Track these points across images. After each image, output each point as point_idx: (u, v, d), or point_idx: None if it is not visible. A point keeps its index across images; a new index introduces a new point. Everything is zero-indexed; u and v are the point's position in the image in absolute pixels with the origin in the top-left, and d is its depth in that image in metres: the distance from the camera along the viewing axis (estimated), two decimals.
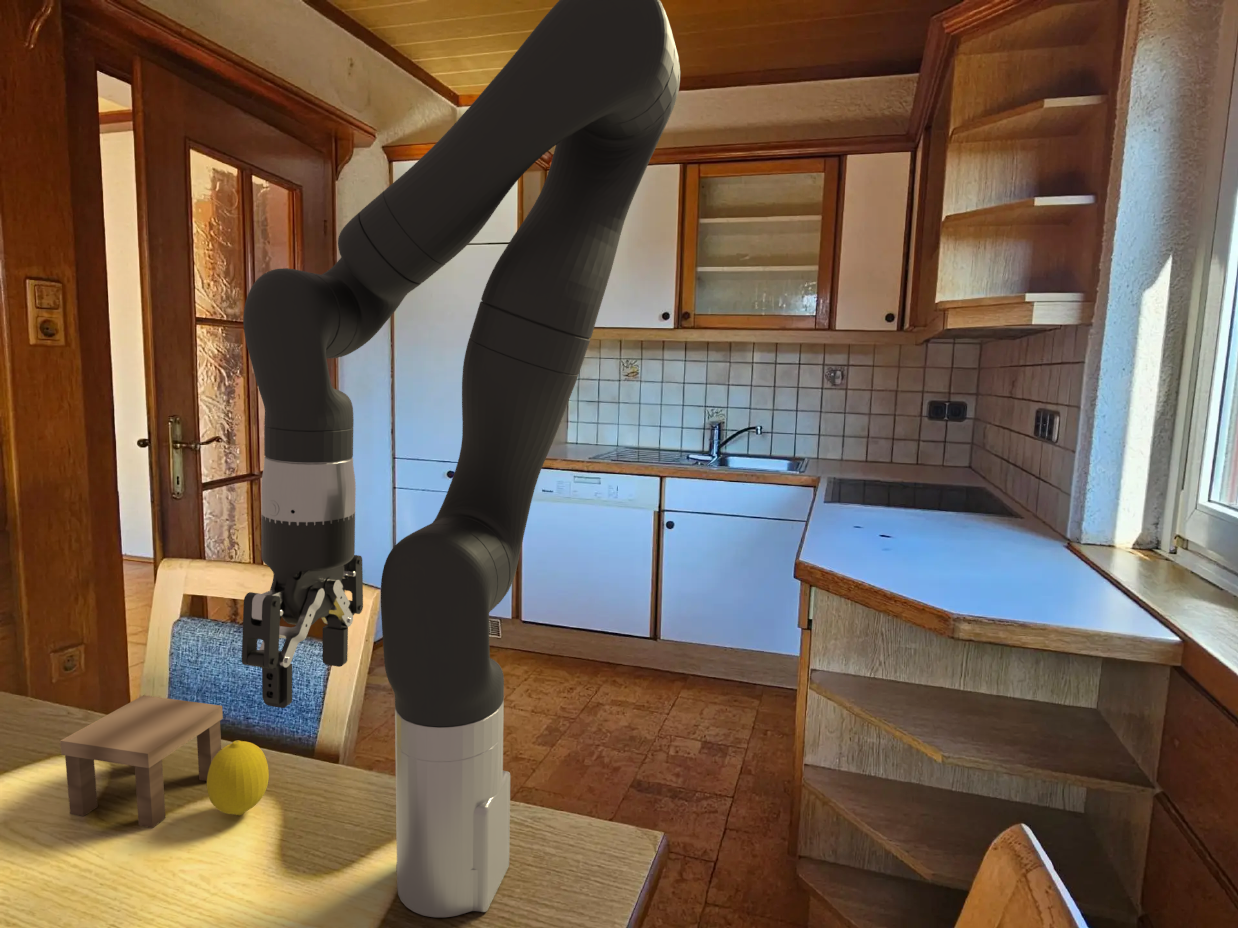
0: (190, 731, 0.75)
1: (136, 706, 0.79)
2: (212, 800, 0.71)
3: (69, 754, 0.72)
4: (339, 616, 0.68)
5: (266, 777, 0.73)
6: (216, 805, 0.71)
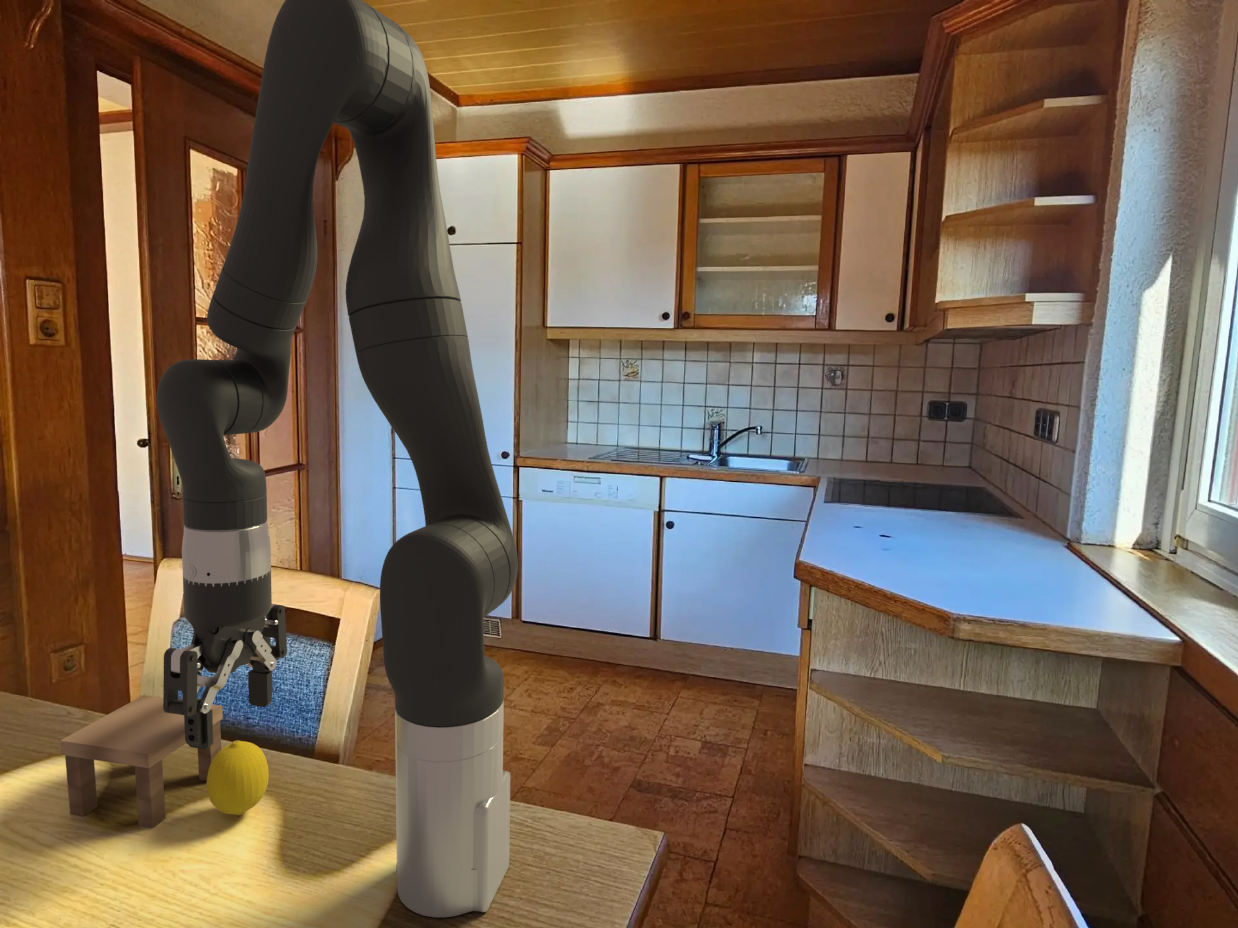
0: None
1: (136, 706, 0.79)
2: (212, 800, 0.71)
3: (69, 754, 0.72)
4: (262, 662, 0.75)
5: (266, 777, 0.73)
6: (216, 805, 0.71)
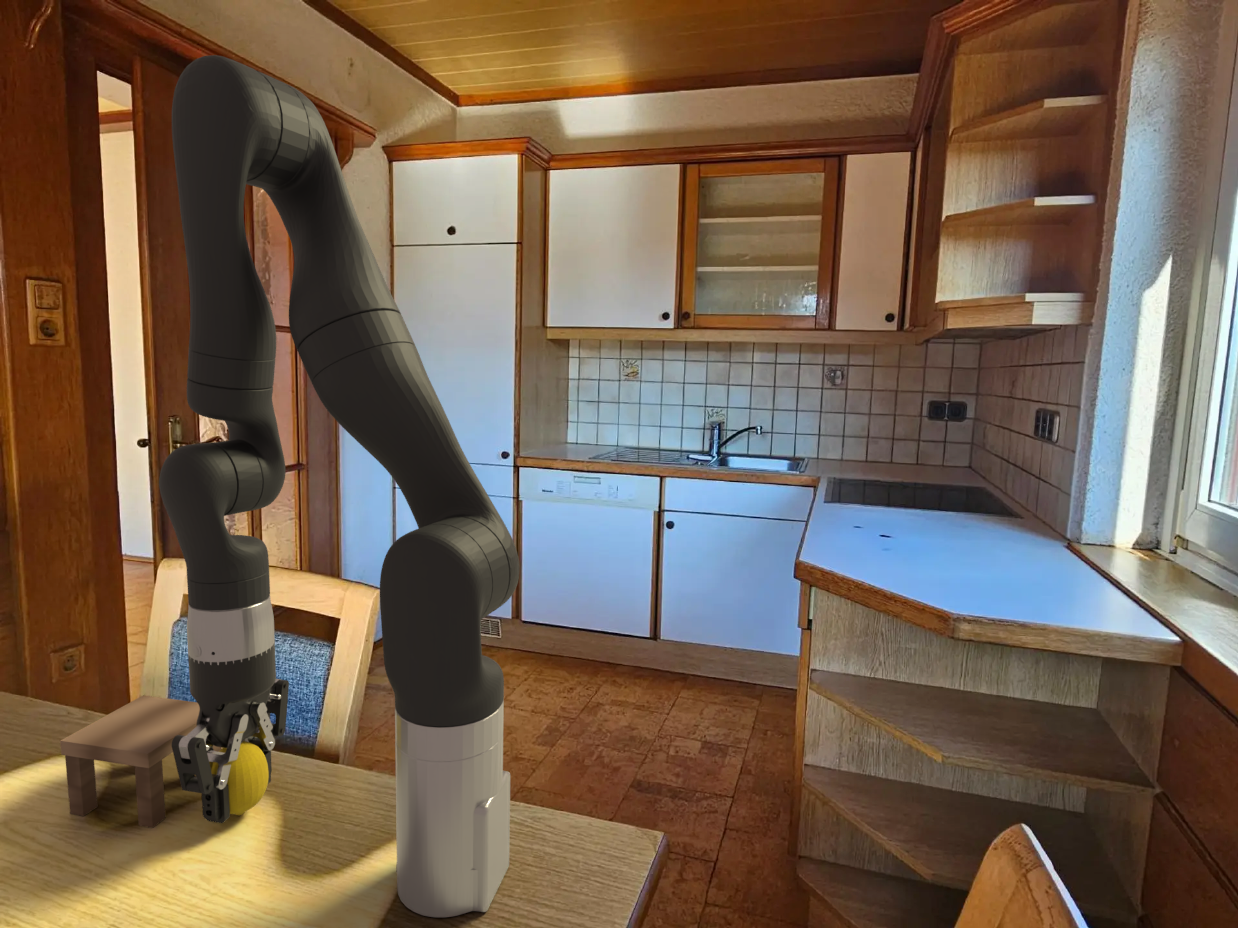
0: (190, 731, 0.75)
1: (136, 706, 0.79)
2: None
3: (69, 754, 0.72)
4: (261, 739, 0.75)
5: (266, 777, 0.73)
6: None
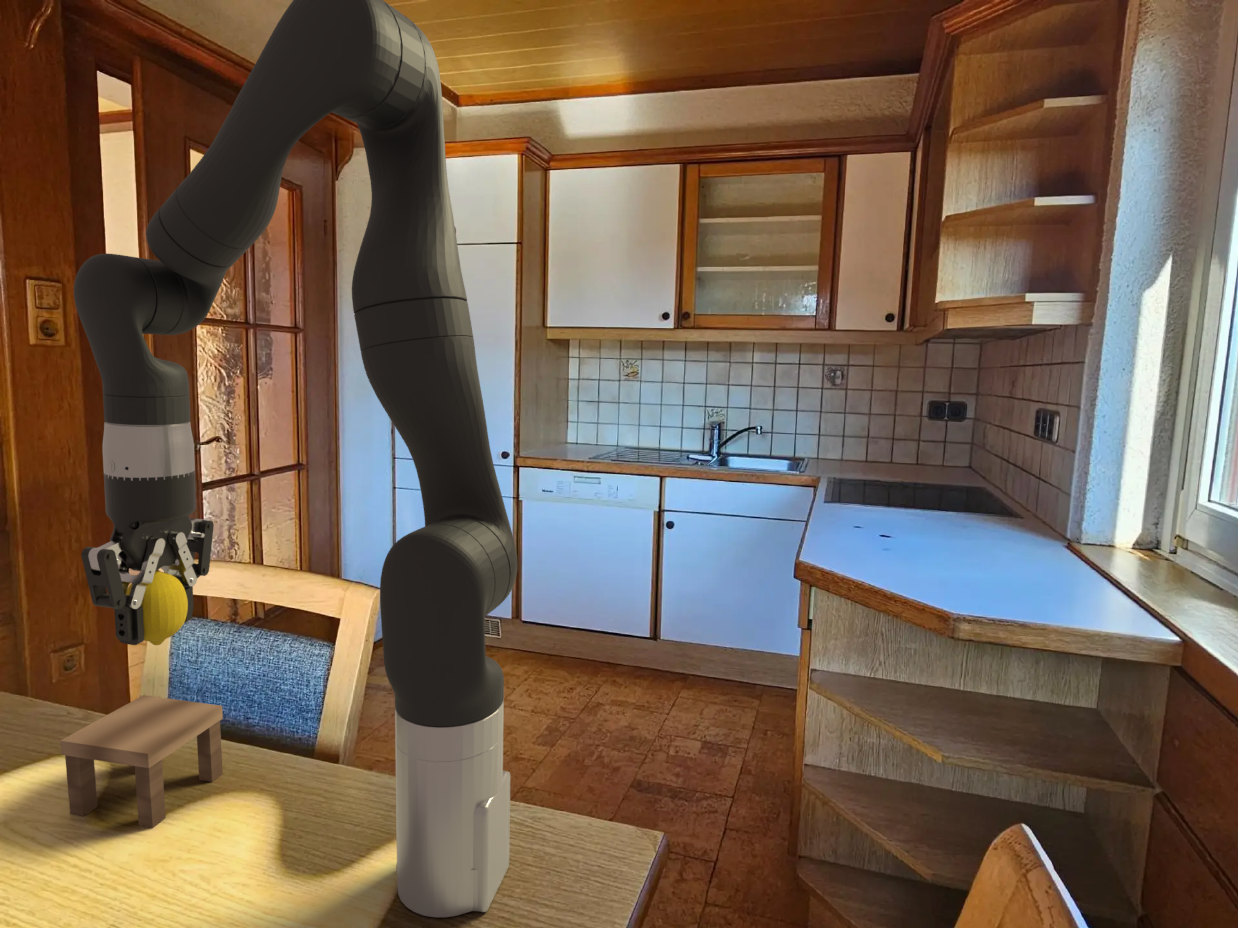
0: (190, 731, 0.75)
1: (136, 706, 0.79)
2: None
3: (69, 754, 0.72)
4: (181, 573, 0.75)
5: (184, 607, 0.73)
6: None
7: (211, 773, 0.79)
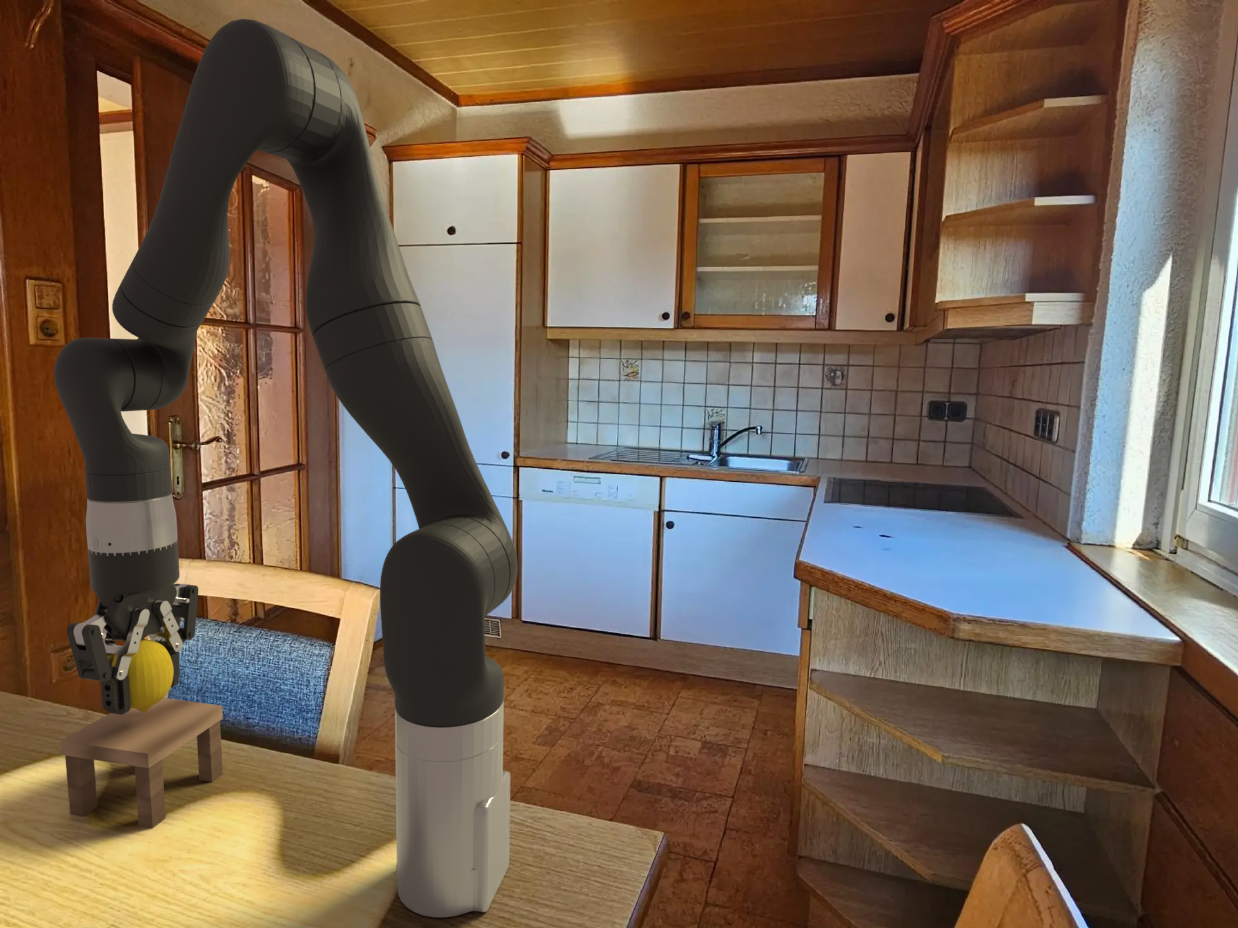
0: (190, 731, 0.75)
1: None
2: None
3: (69, 754, 0.72)
4: (167, 639, 0.76)
5: (169, 674, 0.75)
6: None
7: (211, 773, 0.79)
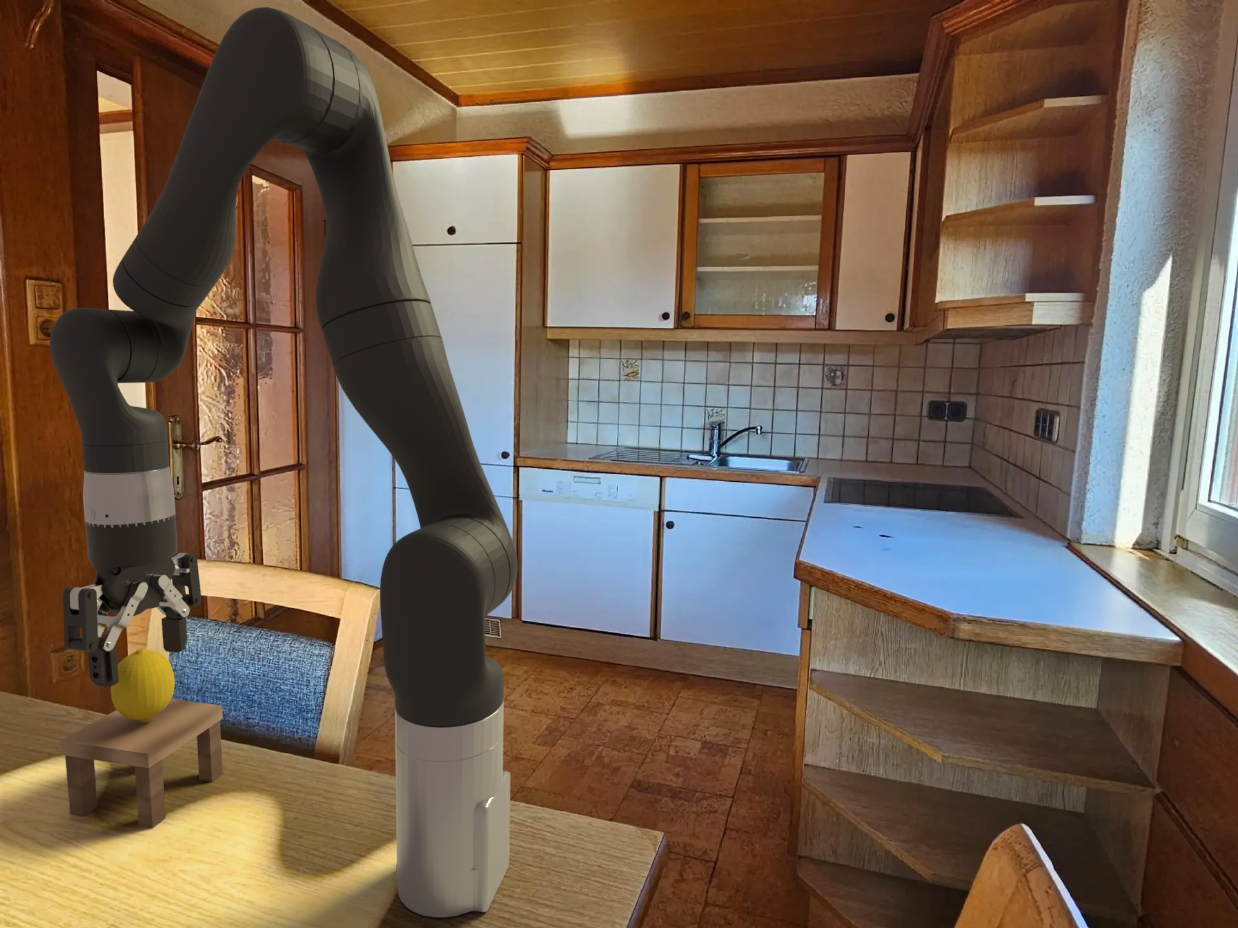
0: (190, 731, 0.75)
1: None
2: (115, 704, 0.73)
3: (69, 754, 0.72)
4: (172, 608, 0.77)
5: (170, 685, 0.75)
6: (119, 709, 0.73)
7: (211, 773, 0.79)
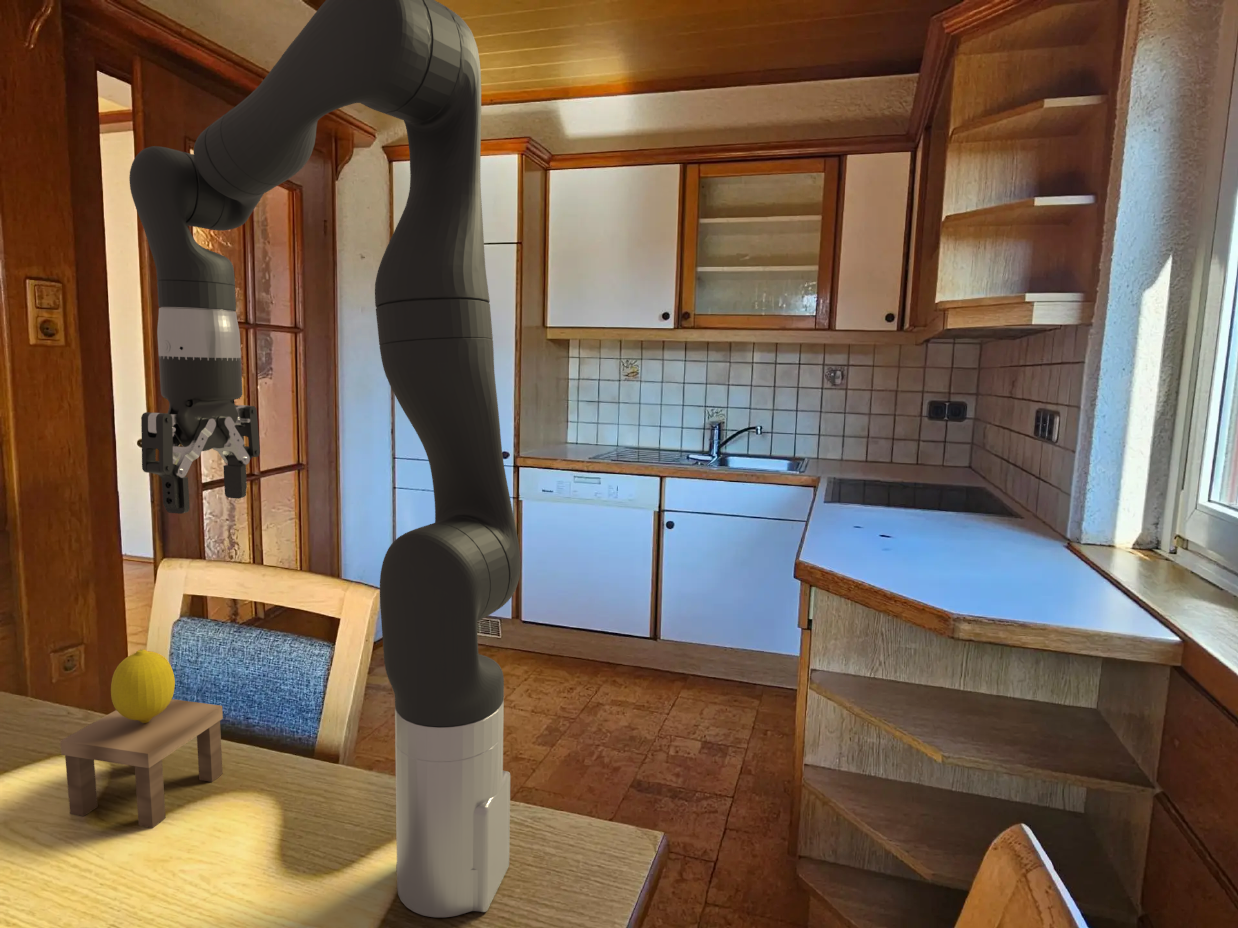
0: (190, 731, 0.75)
1: None
2: (115, 705, 0.73)
3: (69, 754, 0.72)
4: (235, 453, 0.81)
5: (171, 686, 0.75)
6: (119, 710, 0.73)
7: (211, 773, 0.79)
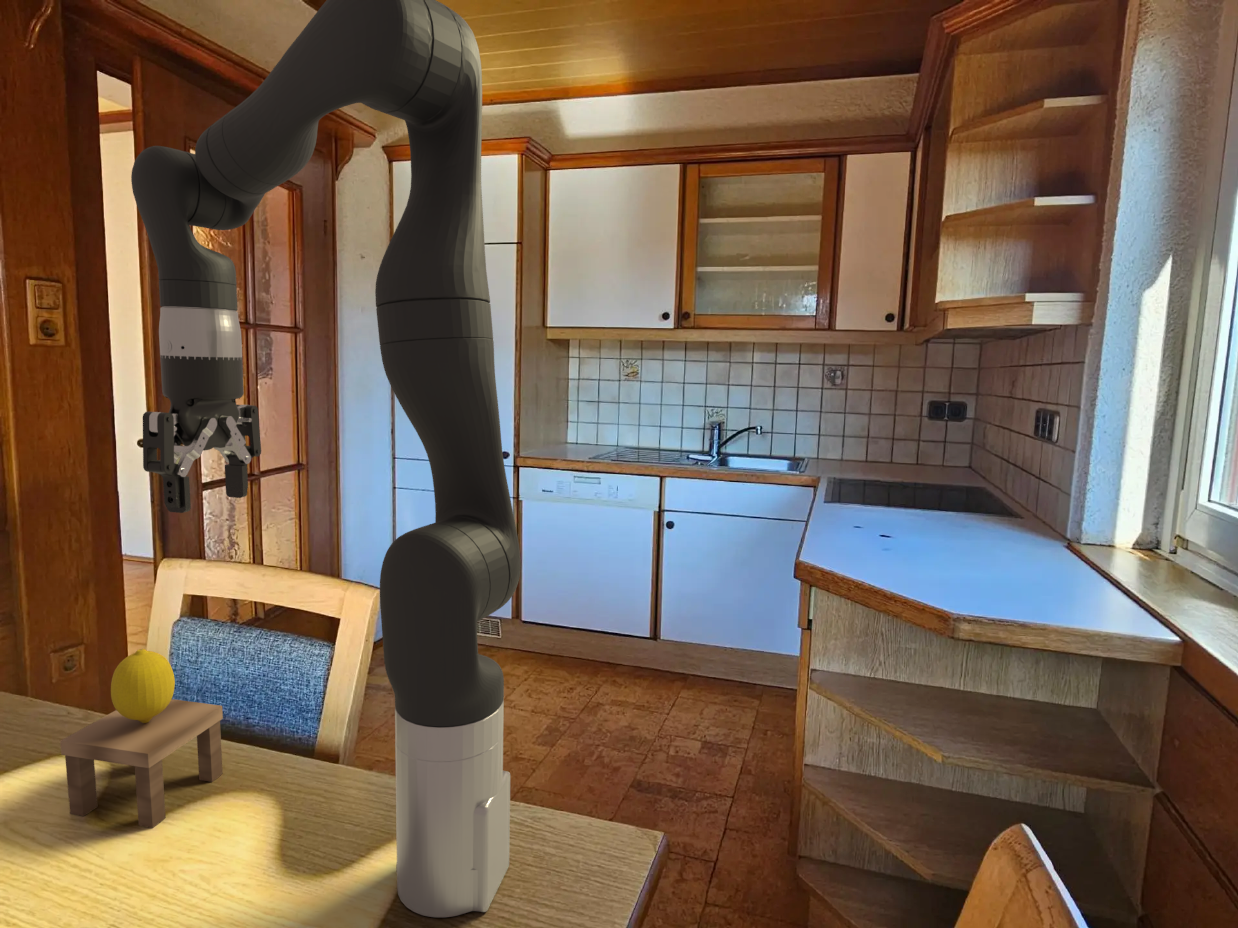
0: (190, 731, 0.75)
1: None
2: (115, 705, 0.73)
3: (69, 754, 0.72)
4: (236, 452, 0.81)
5: (170, 685, 0.75)
6: (119, 710, 0.73)
7: (211, 773, 0.79)
